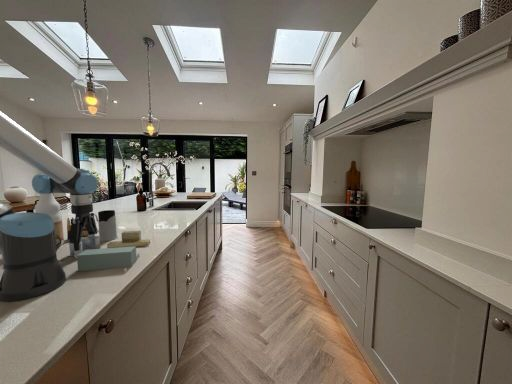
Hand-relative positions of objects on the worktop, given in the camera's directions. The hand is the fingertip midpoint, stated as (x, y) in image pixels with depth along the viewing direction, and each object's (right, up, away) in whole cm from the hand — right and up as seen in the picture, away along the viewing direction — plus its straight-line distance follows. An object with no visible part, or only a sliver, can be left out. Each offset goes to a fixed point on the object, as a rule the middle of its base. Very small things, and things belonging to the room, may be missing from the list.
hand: (86, 252), depth 99 cm
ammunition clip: (-20, +2, +22) cm, 30 cm away
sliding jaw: (+14, +1, +11) cm, 18 cm away
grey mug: (-7, +2, +21) cm, 22 cm away
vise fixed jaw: (+19, -1, -11) cm, 22 cm away
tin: (-18, -1, -2) cm, 18 cm away
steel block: (0, 0, 0) cm, 0 cm away
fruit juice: (-25, +1, +10) cm, 27 cm away
